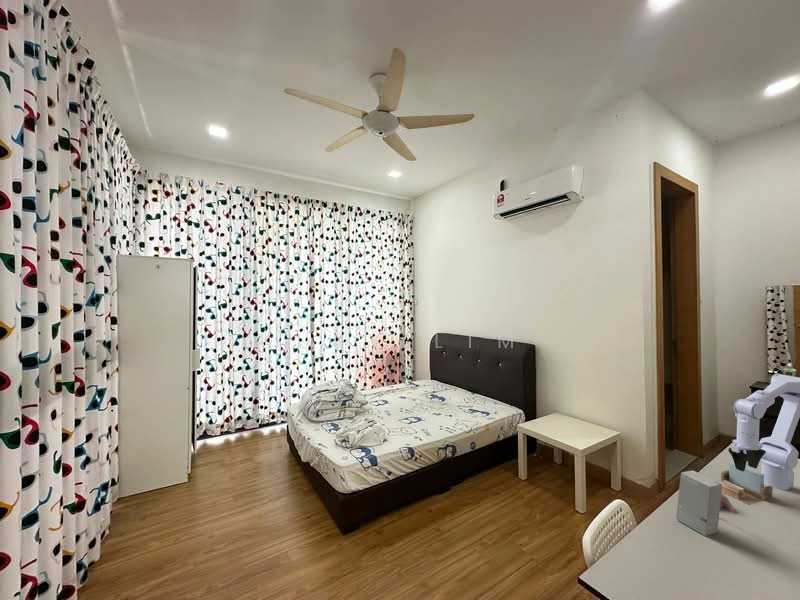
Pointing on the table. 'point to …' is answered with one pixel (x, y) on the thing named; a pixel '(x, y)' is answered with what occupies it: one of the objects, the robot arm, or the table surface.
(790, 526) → the table surface
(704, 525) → the skincare box
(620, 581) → the table surface
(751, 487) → the tall sheet
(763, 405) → the robot arm
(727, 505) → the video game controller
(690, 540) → the table surface
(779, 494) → the table surface
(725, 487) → the offcut stack
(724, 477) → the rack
